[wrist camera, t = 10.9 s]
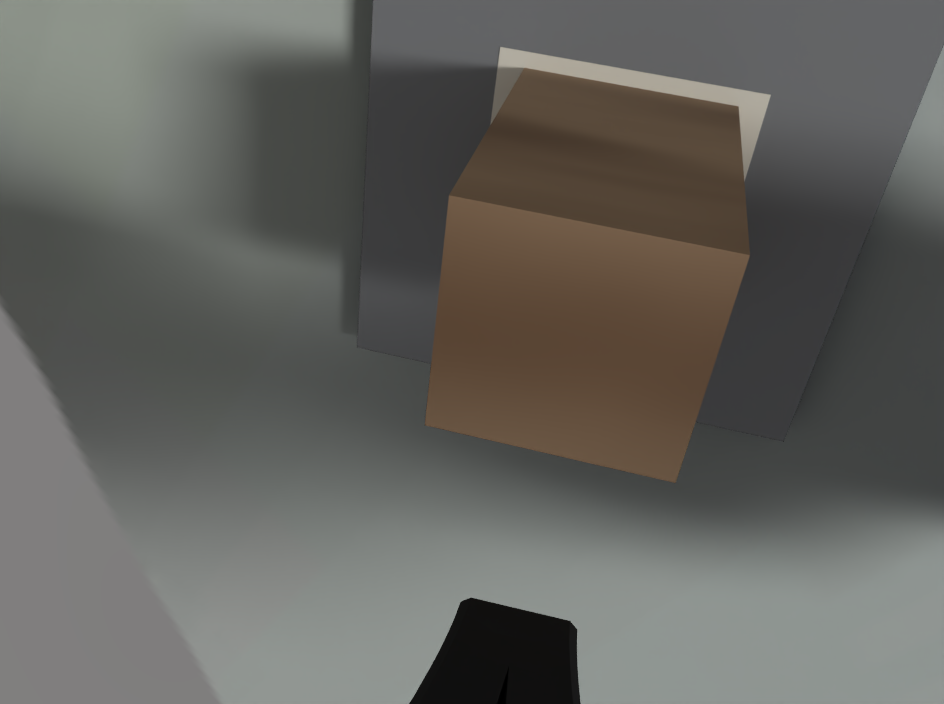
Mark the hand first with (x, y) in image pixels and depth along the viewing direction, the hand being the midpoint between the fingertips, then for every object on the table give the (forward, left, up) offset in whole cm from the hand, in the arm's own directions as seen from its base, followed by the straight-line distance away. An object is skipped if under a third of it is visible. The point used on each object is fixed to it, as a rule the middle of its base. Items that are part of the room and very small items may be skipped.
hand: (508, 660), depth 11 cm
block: (0, -2, -10) cm, 10 cm away
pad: (0, -2, -10) cm, 11 cm away
